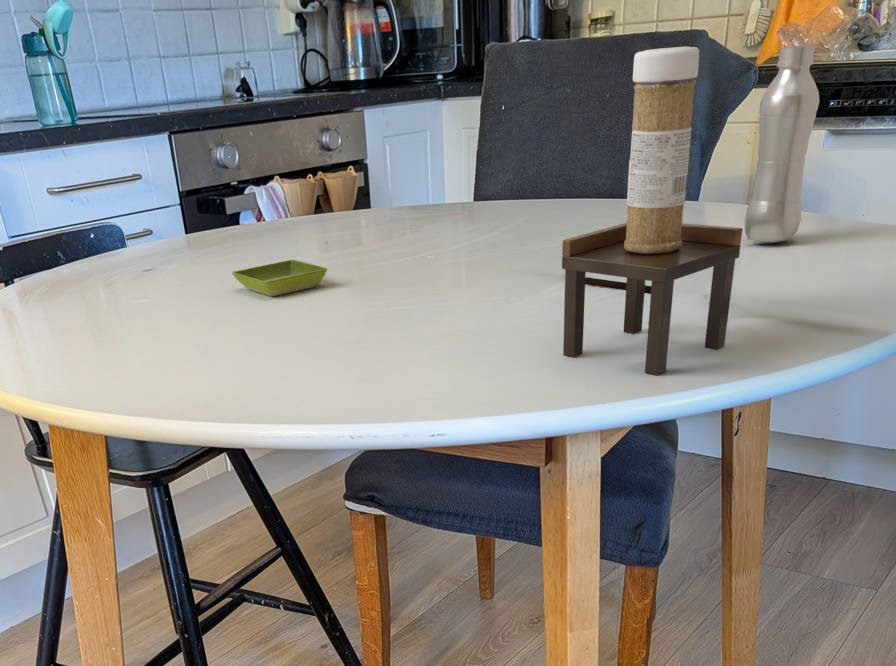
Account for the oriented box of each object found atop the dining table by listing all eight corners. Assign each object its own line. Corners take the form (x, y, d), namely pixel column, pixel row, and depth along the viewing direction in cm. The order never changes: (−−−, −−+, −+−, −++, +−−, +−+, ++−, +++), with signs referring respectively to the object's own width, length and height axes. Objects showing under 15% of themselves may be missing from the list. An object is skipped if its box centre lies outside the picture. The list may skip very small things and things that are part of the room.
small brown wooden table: (728, 346, 74) (743, 228, 69) (657, 376, 69) (668, 251, 63) (630, 328, 80) (637, 219, 75) (559, 355, 75) (562, 239, 70)
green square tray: (331, 286, 104) (329, 267, 103) (267, 300, 100) (264, 281, 99) (295, 276, 110) (292, 259, 109) (233, 290, 106) (230, 272, 105)
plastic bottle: (799, 237, 108) (830, 43, 97) (794, 248, 103) (827, 44, 92) (745, 237, 111) (769, 47, 100) (737, 247, 106) (762, 49, 95)
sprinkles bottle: (651, 242, 72) (665, 47, 65) (693, 248, 69) (714, 44, 62) (610, 251, 71) (620, 52, 63) (652, 258, 67) (668, 48, 60)
